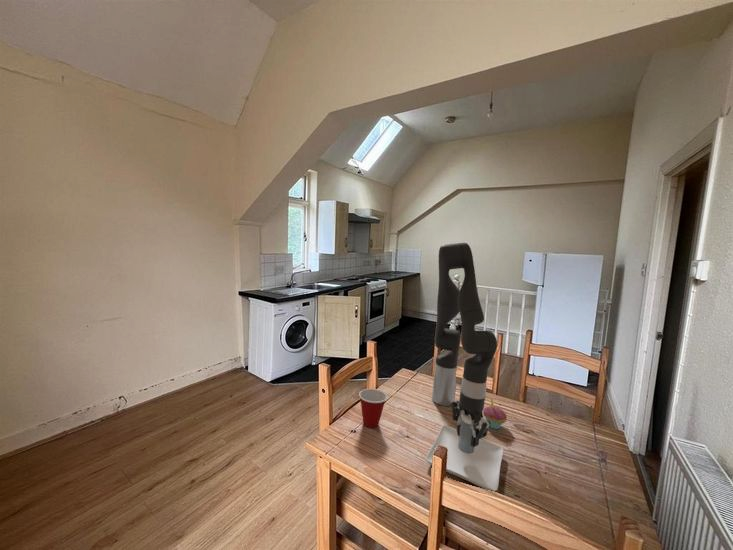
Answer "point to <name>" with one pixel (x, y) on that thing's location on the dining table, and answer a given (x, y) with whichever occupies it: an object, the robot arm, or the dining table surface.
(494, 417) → the cupcake
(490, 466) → the salad plate
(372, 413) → the plastic cup
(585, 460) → the dining table surface
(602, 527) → the dining table surface
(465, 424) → the shaker
